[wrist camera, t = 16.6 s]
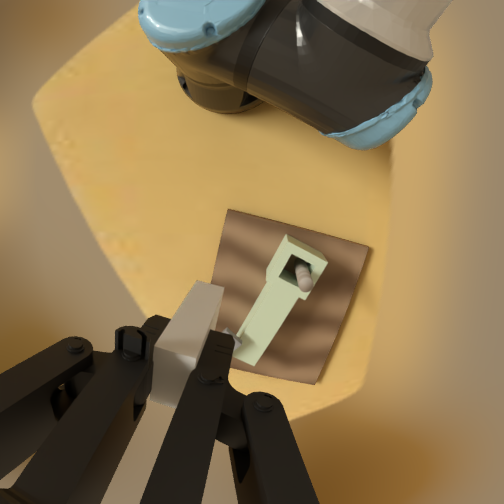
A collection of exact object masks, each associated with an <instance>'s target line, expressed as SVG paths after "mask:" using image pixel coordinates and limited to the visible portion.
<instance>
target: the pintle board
mask: <svg viewBox="0 0 504 504" xmlns="http://www.w3.org/2000/svg"><path fill="white" fill-rule="evenodd" d="M286 234H288V235H290V236H292V237H293V238H295V239H297V240H299V241H301V242H303V243H305V244H307V245H308V246H310V247H312V248H314V249H316V250H318V251H320V252H321V253H322V254H323V255H324V257H325V259H326V260H327V262H328V263H327V265H326V267H325V269H324V270H323V272H322V274H321V275H320V277H319V279H318V280H317V282H316V283H315V285H314V283H313V280H312V278H311V275H310V272H309V270H308V267H307V262H306V261H305V260H303V259H301V258H299V257H297V256H295V255H293V254H291V256H290V258H289V259H288V261H287V263H286V265H285V266H284V268H283V269H285V270H287V271H289V272H290V273H292V274H294V275H296V277H297V281H298V286H299V289H300V290H301V291H302V292H310V291H311V292H310V293H309V295H308V296H307V298H306V300H303V299H301V298H298V299H297V301H296V302H295V304H294V306H293V307H292V309H291V310H290V312H289V314H288V315H287V317H286V318H285V320H284V322H283V323H282V325H281V326H280V328H279V329H278V331H277V333H276V334H275V336H274V337H273V339H272V340H271V342H270V343H269V345H268V346H267V348H266V349H265V351H264V352H263V354H262V355H261V357H260V358H259V360H258V361H257V363H256V364H255V366H253V365H250V364H248V363H246V362H244V361H241V360H239V359H237V358H235V357H232V360H231V365H230V368H234V369H238V370H242V371H246V372H251V373H255V374H260V375H264V376H269V377H274V378H279V379H284V380H289V381H295V382H300V383H306V384H312V385H315V383H316V381H317V379H318V376H319V374H320V372H321V370H322V368H323V365H324V363H325V361H326V359H327V356H328V354H329V352H330V350H331V347H332V345H333V342H334V340H335V338H336V335H337V333H338V330H339V328H340V326H341V323H342V321H343V318H344V315H345V313H346V310H347V308H348V305H349V303H350V300H351V297H352V295H353V292H354V289H355V286H356V284H357V281H358V278H359V275H360V272H361V269H362V267H363V264H364V261H365V258H366V255H367V252H368V249H369V247H368V246H365V245H362V244H358V243H355V242H351V241H348V240H344V239H341V238H337V237H334V236H330V235H326V234H323V233H319V232H315V231H312V230H308V229H304V228H301V227H297V226H293V225H289V224H286V223H282V222H278V221H274V220H270V219H266V218H262V217H259V216H255V215H251V214H247V213H243V212H239V211H235V210H231V209H228V210H227V214H226V218H225V223H224V227H223V231H222V236H221V240H220V244H219V249H218V253H217V258H216V262H215V267H214V272H213V276H212V281H211V284H213V285H217V286H221V287H224V292H223V296H222V301H221V305H220V309H219V314H218V318H217V323H216V327H215V331H219V332H222V333H226V334H230V335H232V336H233V338H234V340H235V346H234V350H236V349H237V348H238V347H239V346H241V345H242V340H241V339H240V338H239V337H237V336H236V335H237V333H238V331H239V329H240V328H241V326H242V324H243V323H244V321H245V319H246V317H247V316H248V314H249V312H250V311H251V309H252V307H253V305H254V304H255V302H256V300H257V298H258V297H259V295H260V293H261V291H262V290H263V288H264V286H265V284H266V283H267V281H266V269H267V267H268V265H269V264H270V262H271V260H272V258H273V256H274V255H275V253H276V251H277V249H278V247H279V246H280V244H281V242H282V240H283V238H284V237H285V235H286Z"/></svg>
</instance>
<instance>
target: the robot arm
mask: <svg viewBox="0 0 504 504" xmlns="http://www.w3.org/2000/svg"><path fill="white" fill-rule="evenodd" d="M451 2H452V0H140V3H139V7H138V18H139V23H140V25H141V28H142V29H143V31H144V33H145V34H146V36H147V38H148V39H149V41H150V43H152V45H153V46H154V47H156V48H158V49H159V50H160V51H161V52H162V53H163V54H164V55H165V56H166V57H167V58H168V59H169V60H170V61H171V62H172V63H173V64H174V65H175V66H176V67H177V77H178V80H179V83H180V85H181V87H182V89H183V91H184V92H185V94H186V95H187V96H188V97H189V98H190V99H191V100H192V101H194V102H195V103H196V104H197V105H199V106H200V107H202V108H204V109H206V110H209V111H212V112H216V113H224V114H231V113H239V112H243V111H246V110H249V109H252V108H254V107H256V106H257V105H259V104H261V103H262V102H263V101H265V102H267V103H269V104H271V105H273V106H275V107H277V108H279V109H281V110H283V111H284V112H286V113H288V114H290V115H292V116H294V117H296V118H298V119H299V120H301V121H303V122H305V123H307V124H308V125H310V126H312V127H314V128H315V129H317V130H318V131H319V132H320V134H322V135H323V136H327V137H330V138H333V139H335V140H337V141H339V142H341V143H342V144H344V145H346V146H348V147H350V148H352V149H356V150H369V149H373V148H376V147H378V146H380V145H382V144H384V143H385V142H387V141H388V140H390V139H391V138H393V137H394V136H395V135H396V134H398V133H399V132H400V131H401V130H402V129H403V128H404V127H405V126H406V125H407V124H408V123H409V122H410V121H411V120H412V119H413V117H414V116H415V115H416V114H417V108H418V107H420V106H421V105H422V104H424V102H425V101H426V99H427V97H428V95H429V93H430V91H431V87H432V75H431V72H430V71H429V69H428V67H427V66H426V65H427V63H428V62H429V61H430V60H431V59H432V57H433V50H432V46H431V41H430V37H429V31H430V29H431V28H432V26H433V25H434V24H435V23H436V21H437V20H438V19H439V17H440V16H441V15H442V13H443V12H444V11H445V9H446V8H447V7H448V6H449V4H450V3H451ZM223 292H224V287H221V286H217V285H213V284H209V283H205V282H202V281H198V280H197V281H196V282H195V284H194V285H193V287H192V288H191V290H190V291H189V293H188V294H187V296H186V298H185V299H184V301H183V302H182V304H181V305H180V307H179V308H178V310H177V311H176V313H175V314H174V316H173V317H172V319H169V318H166V317H162V316H159V315H155V316H152V317H150V318H148V319H147V320H146V322H145V323H144V325H143V326H142V327H141V328H139V327H135V326H124V327H120V328H118V329H117V330H116V331H115V350H114V351H113V352H112V353H106V352H99V351H93V347H92V344H91V343H90V342H89V341H88V340H87V339H84V338H82V337H76V336H75V337H68V338H65V339H63V340H61V341H59V342H57V343H56V344H54V345H52V346H50V347H48V348H46V349H45V350H43V351H41V352H39V353H37V354H35V355H34V356H32V357H30V358H28V359H27V360H25V361H23V362H21V363H19V364H17V365H16V366H14V367H12V368H10V369H9V370H7V371H5V372H3V373H1V374H0V480H1V479H2V478H3V477H5V476H6V475H7V474H8V473H10V472H11V471H12V470H13V469H15V468H16V467H17V466H19V465H20V464H21V463H22V462H24V461H25V460H26V459H27V458H28V457H30V456H31V455H32V454H34V453H35V452H36V451H37V452H36V453H35V455H34V456H33V458H32V459H31V460H30V462H29V463H28V464H27V466H26V467H25V469H24V470H23V472H22V473H21V475H20V476H19V477H18V479H17V481H16V482H15V483H14V485H13V486H12V487H11V488H9V489H0V504H100V503H101V501H102V499H103V497H104V494H105V492H106V490H107V488H108V486H109V484H110V482H111V480H112V478H113V475H114V473H115V471H116V469H117V467H118V464H119V463H120V461H121V459H122V456H123V454H124V452H125V450H126V448H127V446H128V444H129V442H130V440H131V438H132V436H133V434H134V432H135V430H136V428H137V425H138V423H139V421H140V419H141V417H142V415H143V413H144V411H145V409H146V399H147V397H148V395H149V394H150V400H151V401H154V402H157V403H160V404H163V405H166V406H169V407H173V408H176V410H175V413H174V415H173V418H172V421H171V423H170V426H169V428H168V431H167V433H166V436H165V438H164V441H163V444H162V446H161V449H160V451H159V454H158V457H157V459H156V462H155V464H154V467H153V470H152V472H151V475H150V477H149V480H148V483H147V486H146V488H145V491H144V493H143V496H142V499H141V501H140V504H201V502H202V497H203V493H204V488H205V484H206V479H207V474H208V470H209V465H210V461H211V456H212V451H213V447H214V442H215V439H216V440H218V441H220V442H222V443H224V444H226V445H228V446H229V454H230V460H231V466H232V472H233V478H234V483H235V489H236V494H237V500H238V504H319V501H318V499H317V496H316V494H315V491H314V488H313V486H312V483H311V480H310V478H309V475H308V473H307V470H306V467H305V464H304V462H303V459H302V457H301V454H300V451H299V448H298V446H297V443H296V440H295V438H294V435H293V432H292V429H291V427H290V424H289V421H288V419H287V416H286V413H285V410H284V408H283V405H282V403H281V402H280V400H279V399H277V398H276V397H275V396H273V395H271V394H269V393H265V392H253V393H250V394H248V395H247V396H246V395H244V394H242V393H240V392H238V391H236V390H235V389H234V388H233V387H232V386H231V385H230V383H229V381H228V374H229V370H230V365H231V360H232V355H233V351H234V346H235V340H234V338H233V336H232V335H230V334H226V333H222V332H219V331H215V327H216V323H217V318H218V314H219V309H220V305H221V301H222V296H223ZM62 384H63V385H62ZM61 385H62V386H61ZM59 386H60V387H59Z"/></svg>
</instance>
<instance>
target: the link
mask: <svg viewBox="0 0 504 504" xmlns="http://www.w3.org/2000/svg"><path fill="white" fill-rule="evenodd" d="M291 254H293V255H295V256H297V257H299V258H301V259H303V260H305V261H306V262H307V267H308V270H309V272H310V275H311V278H312V280H313V283H314V285H315V283H316V282H317V280H318V279H319V277H320V275H321V274H322V272H323V270H324V269H325V267H326V265H327V263H328V262H327V260H326V259H325V257H324V255H323V254H322V253H321V252H320V251H318V250H316V249H314V248H312V247H310V246H308V245H307V244H305V243H303V242H301V241H299V240H297V239H295V238H293V237H292V236H290V235H288V234H286V235H285V237H284V238H283V240H282V242H281V244H280V246H279V247H278V249H277V251H276V253H275V255H274V256H273V258H272V260H271V262H270V264H269V265H268V267H267V269H266V281H267V283H266V284H265V286H264V288H263V290H262V291H261V293H260V295H259V297H258V298H257V300H256V302H255V304H254V305H253V307H252V309H251V311H250V312H249V314H248V316H247V317H246V319H245V321H244V323H243V324H242V326H241V328H240V329H239V331H238V333H237V335H236V336H237V337H239V338H240V339H241V340H242V345H241V346H239V347H238V348H237V349H236V350H234V351H233V355H232V357H235V358H237V359H239V360H241V361H244V362H246V363H248V364H250V365H253V366H255V364H256V363H257V361H258V360H259V358H260V357H261V355H262V354H263V352H264V351H265V349H266V348H267V346H268V345H269V343H270V342H271V340H272V339H273V337H274V336H275V334H276V333H277V331H278V329H279V328H280V326H281V325H282V323H283V322H284V320H285V318H286V317H287V315H288V314H289V312H290V310H291V309H292V307H293V306H294V304H295V302H296V301H297V299H298V298H301V299H303V300H306V298H307V296H308V295H309V293H310V292H311V291H310V292H302V291H301V290H300V289H299V286H298V281H297V277H296V275H294V274H292V273H290V272H289V271H287V270H285V269H283V268H284V266H285V265H286V263H287V261H288V259H289V258H290V256H291Z"/></svg>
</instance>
